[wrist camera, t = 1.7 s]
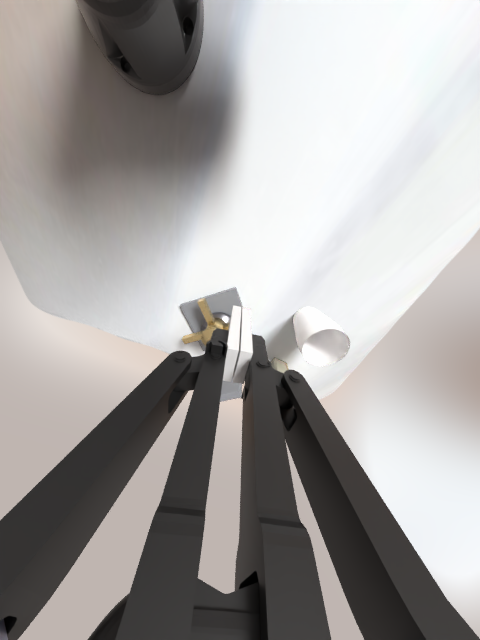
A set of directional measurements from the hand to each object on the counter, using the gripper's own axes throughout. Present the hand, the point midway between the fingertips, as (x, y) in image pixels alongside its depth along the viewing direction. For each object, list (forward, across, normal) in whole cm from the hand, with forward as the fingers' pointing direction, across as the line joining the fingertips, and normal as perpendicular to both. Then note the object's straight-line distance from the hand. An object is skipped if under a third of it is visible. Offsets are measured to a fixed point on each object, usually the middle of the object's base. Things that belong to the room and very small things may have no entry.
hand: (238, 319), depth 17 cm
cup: (+25, +18, -9) cm, 32 cm away
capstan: (+23, -3, -15) cm, 28 cm away
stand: (+24, -2, -17) cm, 30 cm away
